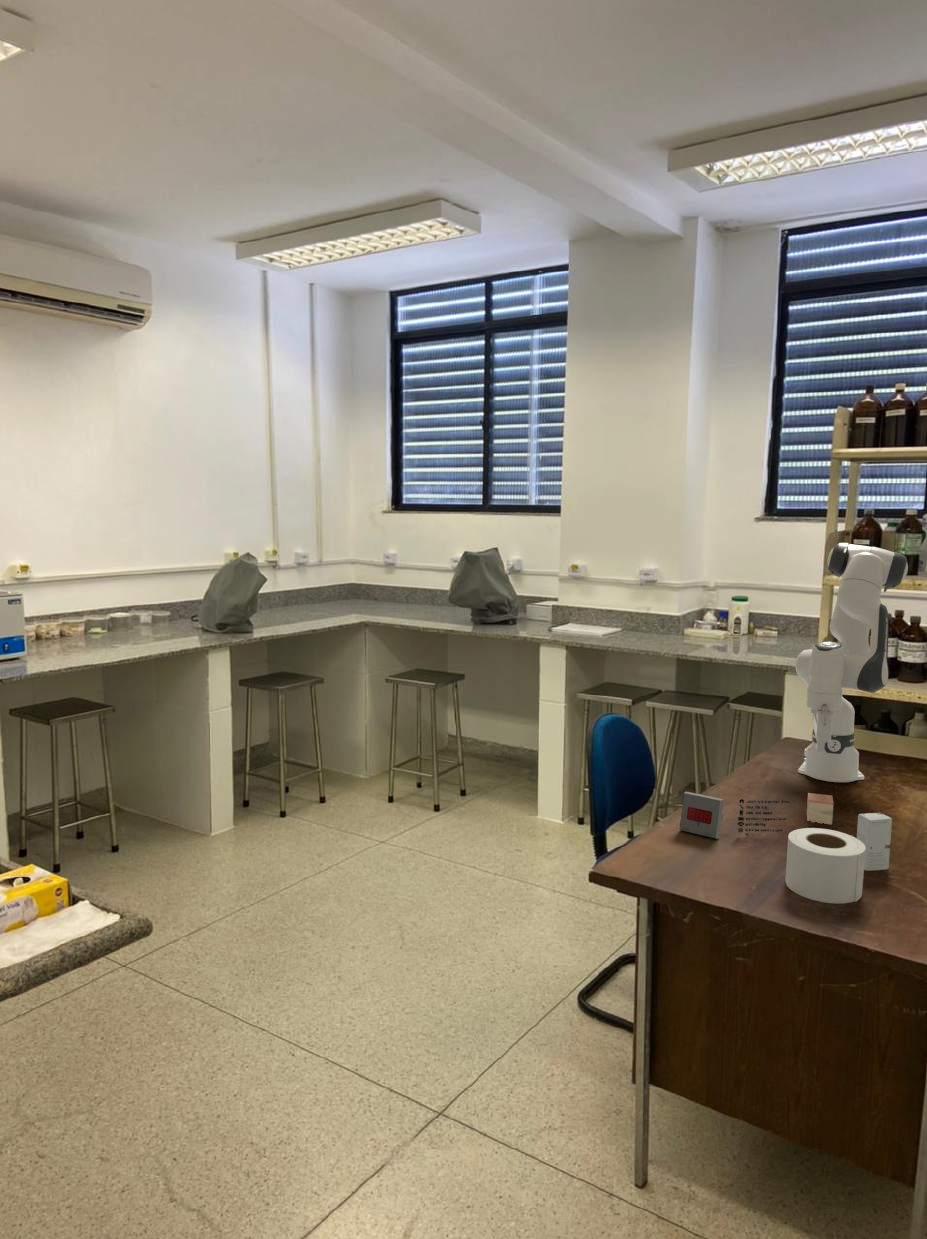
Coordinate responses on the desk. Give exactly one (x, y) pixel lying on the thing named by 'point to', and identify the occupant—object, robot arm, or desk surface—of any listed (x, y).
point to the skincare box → (875, 839)
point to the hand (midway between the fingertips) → (820, 751)
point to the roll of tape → (825, 865)
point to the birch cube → (820, 808)
